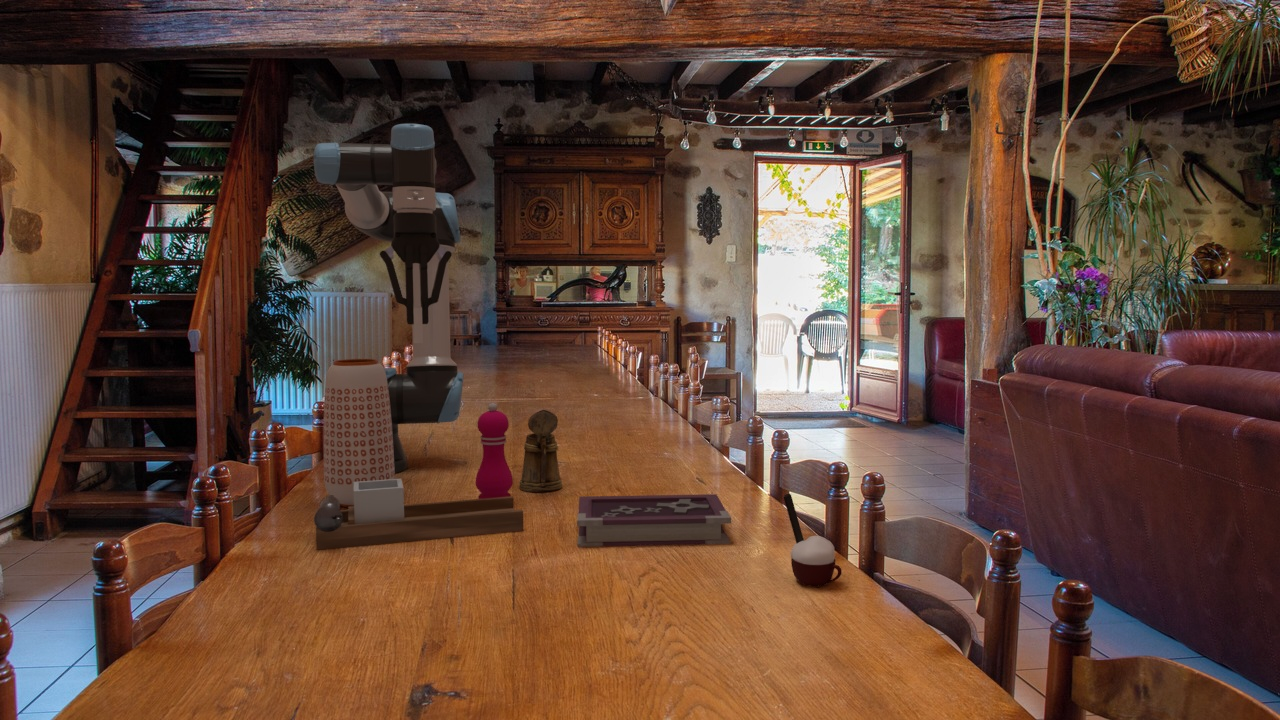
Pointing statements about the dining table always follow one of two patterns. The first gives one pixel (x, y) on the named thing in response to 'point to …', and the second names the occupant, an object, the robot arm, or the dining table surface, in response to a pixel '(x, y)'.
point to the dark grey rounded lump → (328, 514)
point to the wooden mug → (541, 455)
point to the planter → (356, 427)
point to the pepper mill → (493, 455)
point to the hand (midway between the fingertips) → (418, 342)
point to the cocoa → (810, 554)
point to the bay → (427, 523)
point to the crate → (378, 501)
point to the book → (651, 520)
